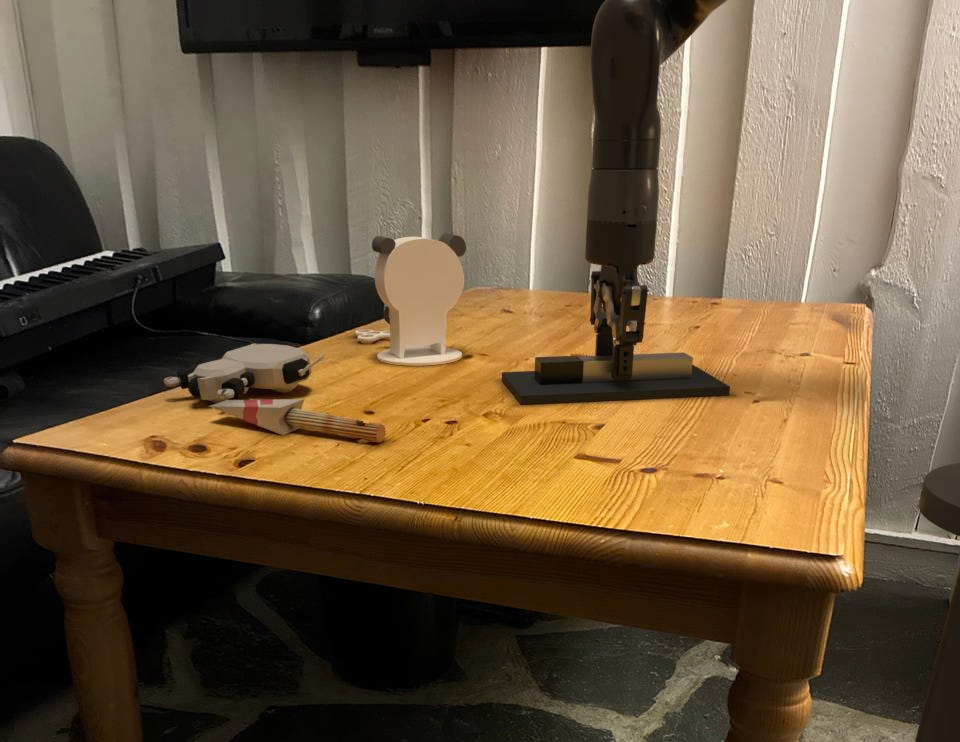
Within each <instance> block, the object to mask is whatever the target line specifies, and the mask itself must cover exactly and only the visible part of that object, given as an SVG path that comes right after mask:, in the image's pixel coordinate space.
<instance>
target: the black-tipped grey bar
mask: <svg viewBox="0 0 960 742" xmlns="http://www.w3.org/2000/svg"><path fill="white" fill-rule="evenodd" d="M612 356H613V355H606V356H595V355H584V356H583V355H582V356H581V355H580V356H578V355H557V356H555V355H554V356H535V357H534V371H535V380H536V381H537V382H538V383H539V384H540V385H552V384H575V383H594V382H617V381H616V380H614V379H613V378H612V376H611V373H612ZM693 362H694V357H693V356H691V355H689V354H687V353H686V352H685V351H684V352H662V353H661V352H660V353H658V352H657V353H634V354H633V368H632V377H631V379H630V380H621V381H640V380H663V379H687V378H691V373H692V365H693Z"/></svg>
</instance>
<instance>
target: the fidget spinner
mask: <svg viewBox="0 0 960 742" xmlns="http://www.w3.org/2000/svg"><path fill="white" fill-rule="evenodd" d="M354 335H355V337H356V339H357V341H358V342H361V343H372V342H376V341H378V340H382V339H390V330H383V331H381V330H380V331H379V330H378V331H377V330H373V329H357V330H354Z"/></svg>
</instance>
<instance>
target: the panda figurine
mask: <svg viewBox="0 0 960 742" xmlns="http://www.w3.org/2000/svg"><path fill="white" fill-rule="evenodd" d="M371 249H372V251H373V252H375V253H379V254H378V257H377V260H376V264H375V270H374V284H375V289H376V292H377V294H378V296H379V298H380V300H381V301H382V302H383V304H385V305H386V306H385V307H384V310H383V314H382V315H383V319H384V321H385V322H386V323H387V324H389V331H390V338H389V348H387V349H384V350H381V351H380V352H378V353H377V357H376V358H377V360H378V361H380V362H381V363H384V364H385V363H386V364H390V365H397V366H412V367H416V366H417V367H418V366H420V367H422V366H423V367H424V366H435V365H436V366H438V365H445V364H449V363H453V362H457V361H459V360H461V359H462V357H463V353H462V352H461V350H458V349H456V348H452V347H451V348H450V347H446V343H447V327H448V326H447V325H448V313H449V311H451V310H452V308H454V307H455V305H456V304H457V303H458V301H459V299H460V298H461V296H462V293H463V290H464V289H465V288H464V287H465V275H464V274H465V273H464V269H463V265H462V264H461V261H460V259H459V258H460V257H463V256H464V255H465V254H466V251H467V244H466V242H465V239H464V238H463V237H462V236H460V235H457V234H451V233H443V234H442V235H441V236H440V237H439V240H438V239H432V238H428V237H423V236H405V237H400V238H396V239H393V238H391V237H387V236H382V235H377V236H374V237H373V239H372V242H371Z"/></svg>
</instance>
